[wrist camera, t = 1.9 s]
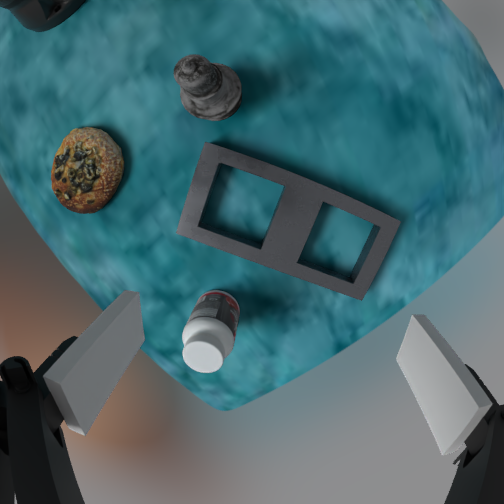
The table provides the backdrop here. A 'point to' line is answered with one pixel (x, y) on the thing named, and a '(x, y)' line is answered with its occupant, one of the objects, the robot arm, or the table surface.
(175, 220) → the table surface
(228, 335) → the pill bottle
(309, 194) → the grey rectangular frame
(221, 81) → the grey chess piece
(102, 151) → the bread roll
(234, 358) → the table surface
